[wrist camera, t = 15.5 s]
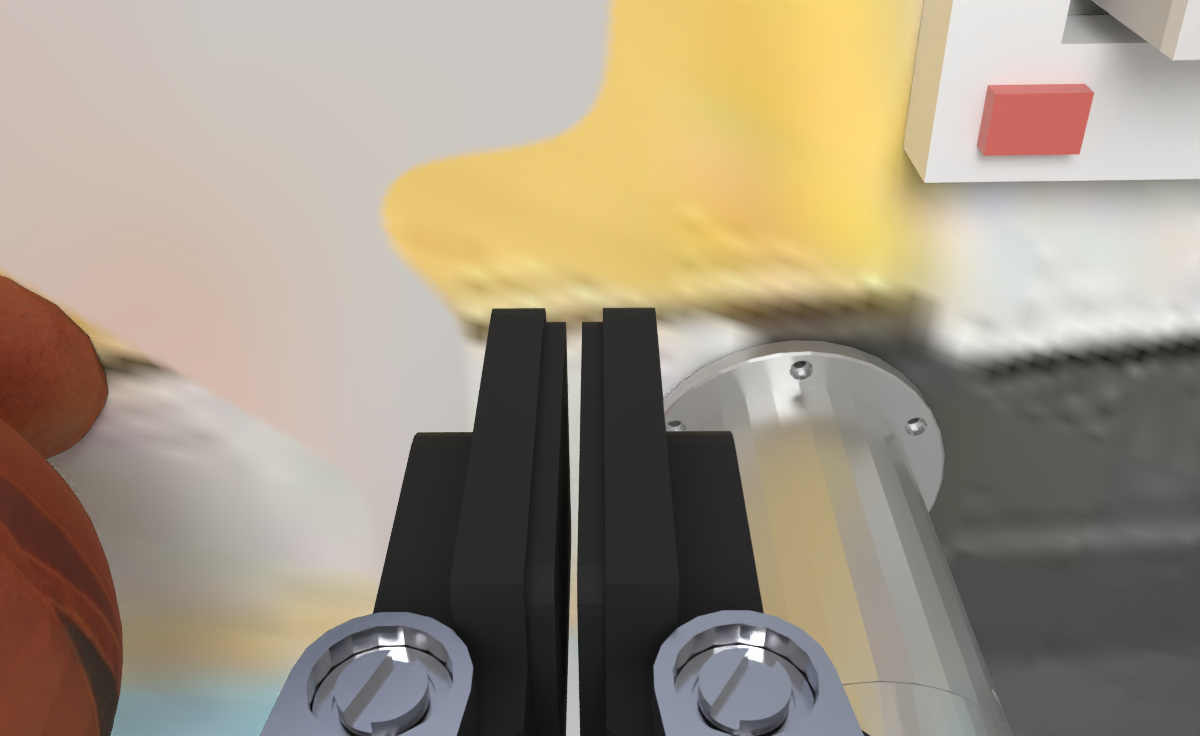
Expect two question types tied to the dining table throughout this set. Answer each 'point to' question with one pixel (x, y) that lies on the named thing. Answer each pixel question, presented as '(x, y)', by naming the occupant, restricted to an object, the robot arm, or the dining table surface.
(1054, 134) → the socket plate
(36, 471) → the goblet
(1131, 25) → the plug
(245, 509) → the dining table surface
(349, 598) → the dining table surface
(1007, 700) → the dining table surface
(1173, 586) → the dining table surface
